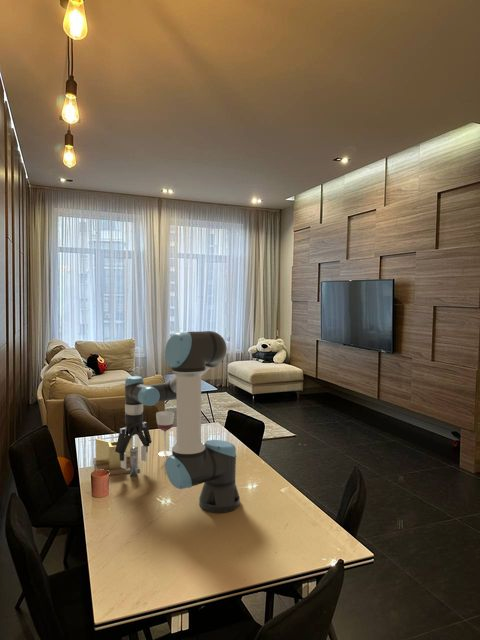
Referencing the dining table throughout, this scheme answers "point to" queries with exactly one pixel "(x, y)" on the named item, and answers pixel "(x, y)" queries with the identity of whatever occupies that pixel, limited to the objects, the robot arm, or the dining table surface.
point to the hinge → (110, 453)
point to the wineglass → (165, 427)
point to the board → (113, 471)
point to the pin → (133, 461)
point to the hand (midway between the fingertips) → (133, 464)
